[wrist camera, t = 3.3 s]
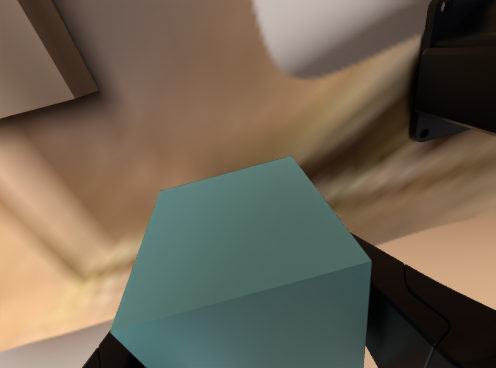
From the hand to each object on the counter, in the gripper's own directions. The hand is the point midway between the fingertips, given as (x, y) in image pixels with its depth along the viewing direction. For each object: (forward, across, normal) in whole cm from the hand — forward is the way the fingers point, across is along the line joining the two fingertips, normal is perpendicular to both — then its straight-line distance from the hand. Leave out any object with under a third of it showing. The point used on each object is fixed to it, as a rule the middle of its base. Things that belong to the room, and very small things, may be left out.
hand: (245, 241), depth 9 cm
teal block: (+1, 0, 0) cm, 1 cm away
